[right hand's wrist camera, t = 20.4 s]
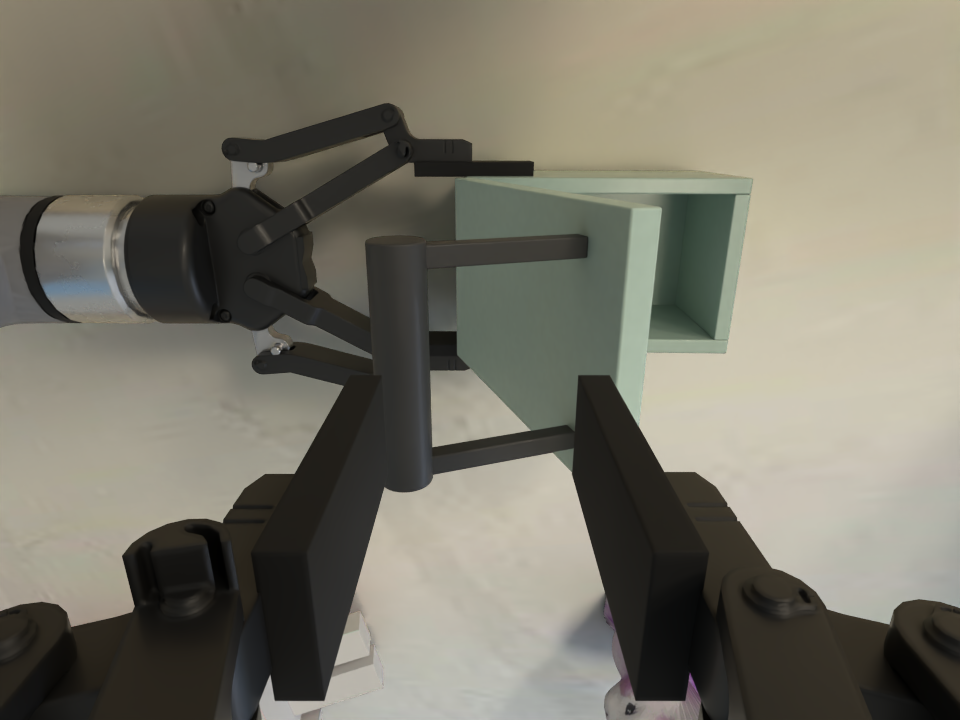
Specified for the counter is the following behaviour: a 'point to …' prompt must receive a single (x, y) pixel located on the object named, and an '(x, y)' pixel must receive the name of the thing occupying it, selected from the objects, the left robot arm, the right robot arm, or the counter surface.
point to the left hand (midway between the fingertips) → (528, 260)
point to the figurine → (643, 716)
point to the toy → (335, 676)
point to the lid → (514, 317)
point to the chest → (677, 245)
